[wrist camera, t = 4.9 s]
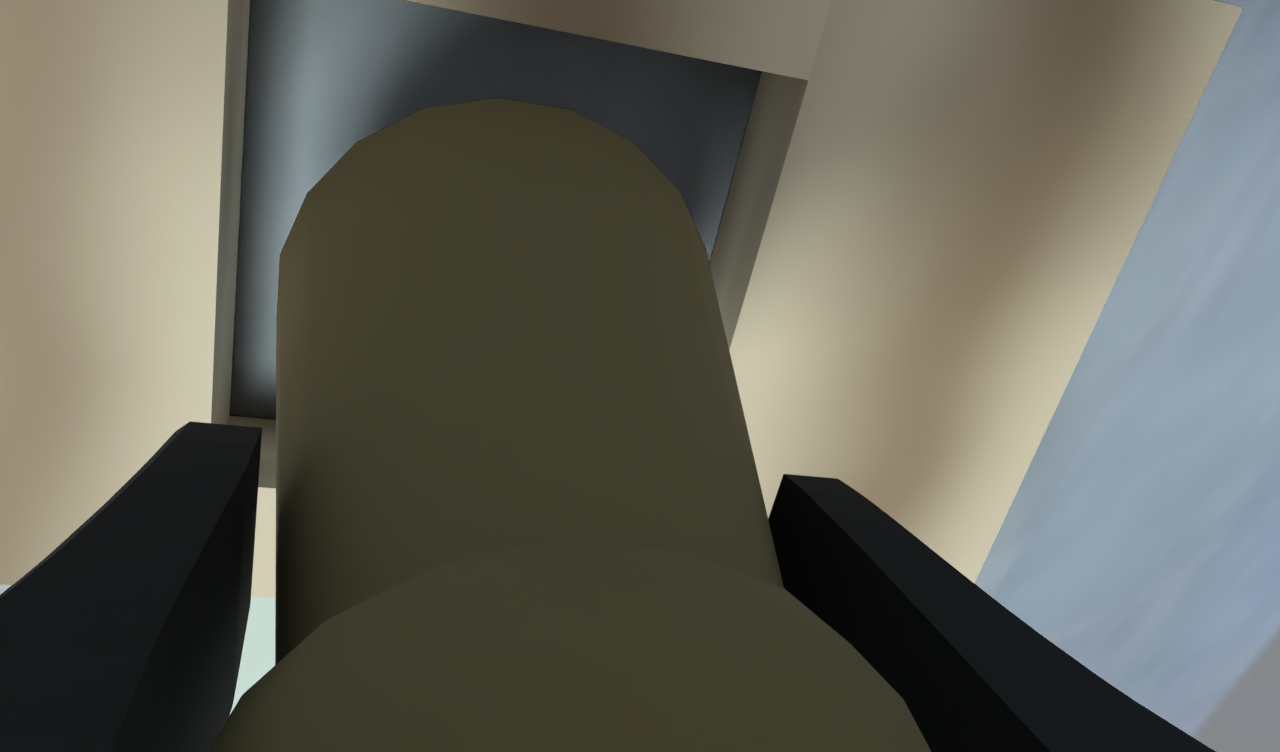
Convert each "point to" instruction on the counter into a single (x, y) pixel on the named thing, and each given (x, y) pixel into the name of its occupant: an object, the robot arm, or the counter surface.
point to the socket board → (741, 260)
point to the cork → (525, 470)
